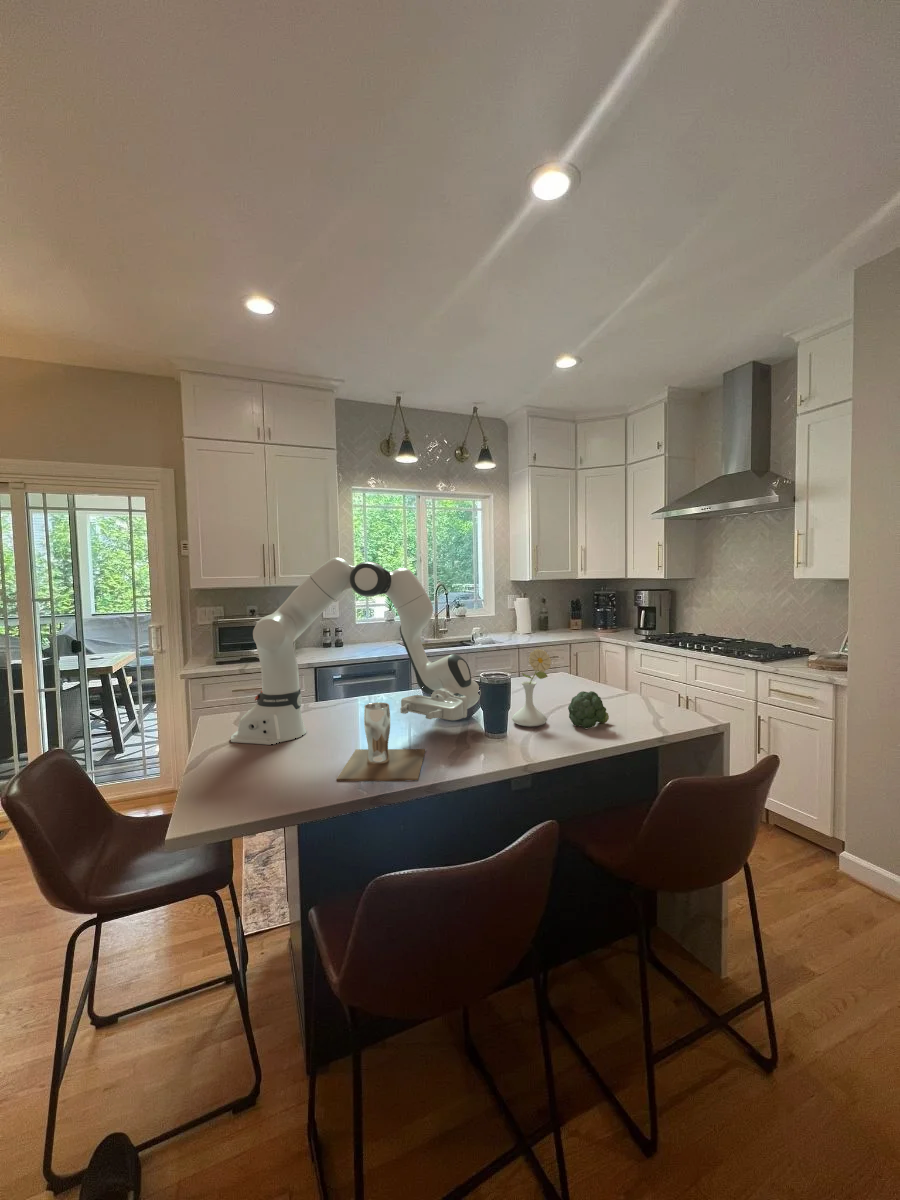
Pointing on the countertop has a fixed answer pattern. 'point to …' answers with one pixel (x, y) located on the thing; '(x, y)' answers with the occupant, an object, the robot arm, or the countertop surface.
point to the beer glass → (377, 732)
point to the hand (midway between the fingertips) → (414, 713)
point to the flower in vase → (529, 712)
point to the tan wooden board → (384, 766)
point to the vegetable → (587, 710)
